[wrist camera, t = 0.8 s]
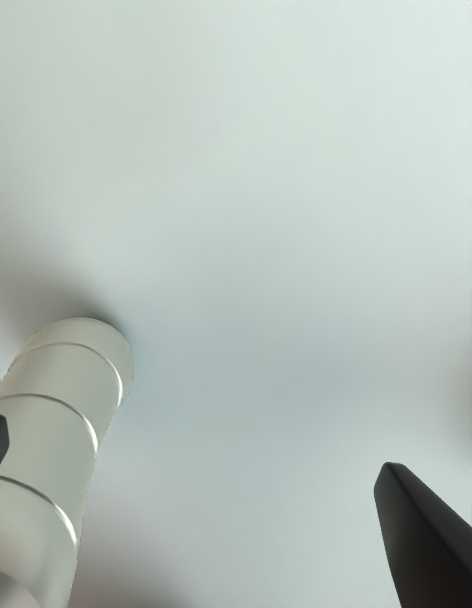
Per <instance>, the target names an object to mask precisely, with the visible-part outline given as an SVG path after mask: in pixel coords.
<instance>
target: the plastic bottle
mask: <svg viewBox="0 0 472 608" xmlns="http://www.w3.org/2000/svg"><path fill="white" fill-rule="evenodd" d="M132 381H133V357H132V352H131V349H130V347H129V345H128V342H127V341H126V340H125V338H124V337H123V336H122V334H121V333H119V332H118V331H117V330H116V329H115V328H113V327H112V326H110V325H108V324H107V323H105V322H102V321H99V320H97V319H92V318H86V317H74V318H68V319H63V320H60V321H58V322H55V323H53V324H51V325H49V326H47V327H45V328H43V329H41V330H40V331H38V332H36V333H35V334H33V335H32V336H31V337H30V338H29V339H28V340H27V341H26V342H25V343H24V345H23V346H22V348H21V349H20V351H19V352H18V354H17V355H16V357H15V358H14V359H13V361H12V363H11V365H10V367H9V369H8V372H7V374H6V375H5V376H4V377H3V379H2V380H1V381H0V414H1V415H4V416H5V417H6V420H7V426H8V432H9V439H10V445H9V449H8V451H7V453H6V455H5V457H4V459H3V461H2V462H1V464H0V608H68V603H69V599H70V594H71V590H72V585H73V580H74V576H75V572H76V567H77V558H78V553H79V546H80V539H81V532H82V526H83V519H84V512H85V505H86V498H87V492H88V488H89V484H90V480H91V476H92V473H93V469H94V464H95V461H96V457H97V453H98V449H99V446H100V444H101V442H102V439H103V437H104V435H105V433H106V431H107V429H108V426H109V424H110V422H111V420H112V418H113V416H114V415H115V414H116V412H117V411H118V410H119V408H120V407H121V405H122V403H123V401H124V400H125V398H126V396H127V394H128V392H129V390H130V388H131V385H132Z"/></svg>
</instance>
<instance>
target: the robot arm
mask: <svg viewBox="0 0 472 608" xmlns="http://www.w3.org/2000/svg"><path fill="white" fill-rule="evenodd" d="M9 445H10V439H9V432H8V426H7V420H6V417H5V416H4V415H1V414H0V464H1V462H2V461H3V459H4V457H5V455H6V453H7V451H8V449H9ZM374 498H375V502H376V507H377V512H378V517H379V522H380V526H381V531H382V536H383V541H384V545H385V550H386V555H387V559H388V563H389V567H390V571H391V574H392V578H393V581H394V584H395V588H396V591H397V594H398V597H399V601H400V604H401V607H402V608H472V527H471V526H470V525H469V524H468V523H467V522H466V521H464V520H463V519H462V518H461V517H460V516H459V515H458V514H457V513H456V512H455V511H454V510H452V509H451V508H450V507H449V506H448V505H447V504H446V503H445V502H444V501H443V500H442V499H441V498H439V497H438V496H437V495H436V494H435V493H434V492H433V491H432V490H431V489H430V488H429V487H428V486H426V485H425V484H424V483H423V482H422V481H421V480H420V479H419V478H418V477H417V476H416V475H414V474H413V473H412V472H411V471H410V470H409V469H408V468H407V467H406V466H404V465H403V464H400V463H392V462H386V463H384V464H383V466H382V468H381V471H380V473H379V476H378V478H377V481H376V483H375V486H374Z"/></svg>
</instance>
